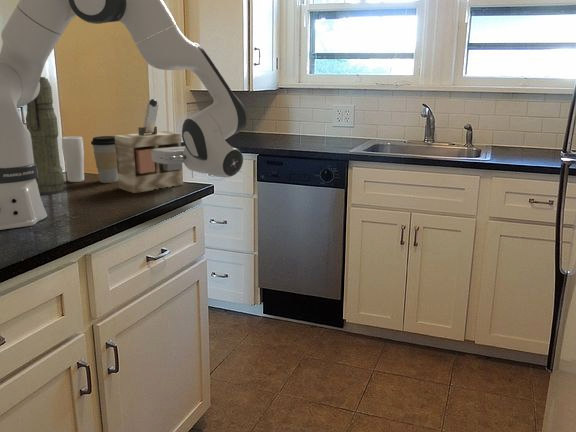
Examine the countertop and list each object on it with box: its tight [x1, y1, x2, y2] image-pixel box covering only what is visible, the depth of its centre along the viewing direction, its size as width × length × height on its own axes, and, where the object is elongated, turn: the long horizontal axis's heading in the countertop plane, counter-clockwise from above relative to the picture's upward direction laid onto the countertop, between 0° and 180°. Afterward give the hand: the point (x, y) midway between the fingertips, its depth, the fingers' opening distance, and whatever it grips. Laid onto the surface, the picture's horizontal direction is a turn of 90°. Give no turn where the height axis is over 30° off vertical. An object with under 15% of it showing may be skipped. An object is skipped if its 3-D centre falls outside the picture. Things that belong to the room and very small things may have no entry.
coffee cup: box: [90, 135, 118, 184], centre depth 192 cm, size 9×9×15 cm
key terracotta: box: [134, 149, 155, 174], centre depth 178 cm, size 5×7×7 cm
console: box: [114, 125, 184, 194], centre depth 182 cm, size 18×10×19 cm, turn 133°
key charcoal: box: [163, 147, 183, 171], centre depth 182 cm, size 5×7×7 cm
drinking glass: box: [61, 135, 85, 183], centre depth 192 cm, size 7×7×15 cm
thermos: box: [25, 76, 65, 195], centre depth 174 cm, size 9×12×35 cm
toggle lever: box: [142, 98, 159, 134], centre depth 177 cm, size 3×2×12 cm
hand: (172, 150), depth 166 cm, fingers closed
